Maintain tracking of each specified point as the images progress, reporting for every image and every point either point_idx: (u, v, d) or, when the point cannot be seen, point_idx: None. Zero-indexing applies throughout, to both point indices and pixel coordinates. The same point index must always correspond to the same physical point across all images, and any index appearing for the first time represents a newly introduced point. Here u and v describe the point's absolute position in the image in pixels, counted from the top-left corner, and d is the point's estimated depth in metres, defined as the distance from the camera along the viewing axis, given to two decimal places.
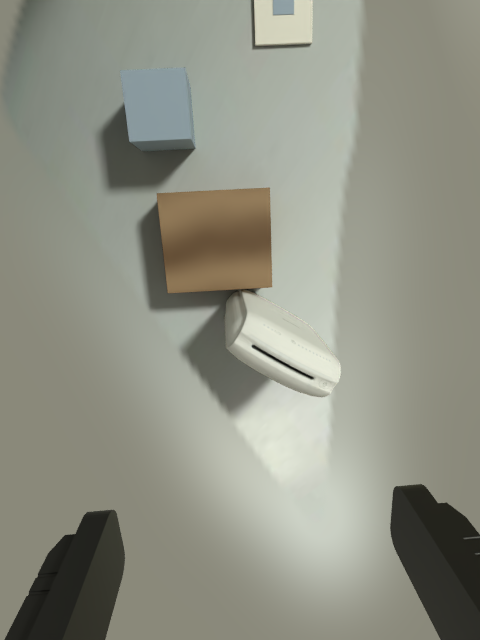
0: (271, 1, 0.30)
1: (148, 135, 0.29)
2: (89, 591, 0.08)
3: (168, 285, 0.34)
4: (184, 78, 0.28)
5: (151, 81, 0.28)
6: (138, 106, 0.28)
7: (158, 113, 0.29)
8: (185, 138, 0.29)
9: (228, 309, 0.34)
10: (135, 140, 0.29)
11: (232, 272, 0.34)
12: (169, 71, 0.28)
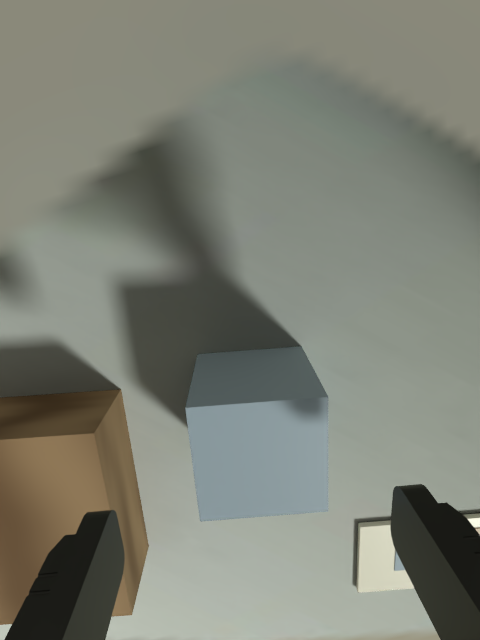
0: None
1: (200, 446, 0.13)
2: (90, 590, 0.08)
3: None
4: (309, 509, 0.14)
5: (305, 455, 0.13)
6: (258, 428, 0.13)
7: (245, 466, 0.13)
8: (200, 510, 0.14)
9: None
10: (188, 419, 0.13)
11: None
12: (322, 485, 0.14)
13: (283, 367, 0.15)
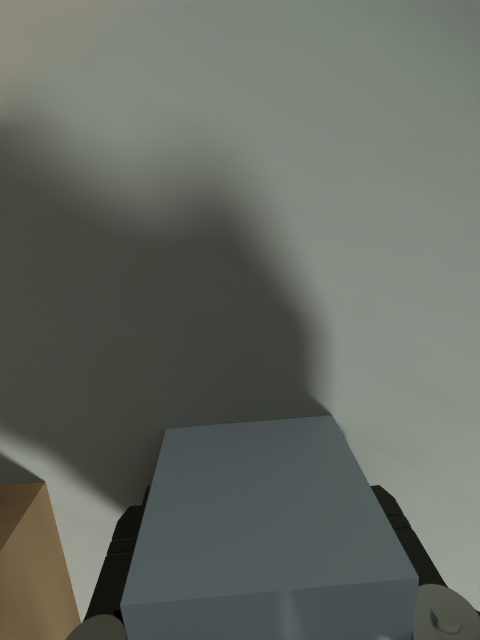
0: None
1: None
2: None
3: None
4: None
5: None
6: (272, 634, 0.06)
7: None
8: None
9: None
10: (129, 624, 0.06)
11: None
12: None
13: (312, 472, 0.09)
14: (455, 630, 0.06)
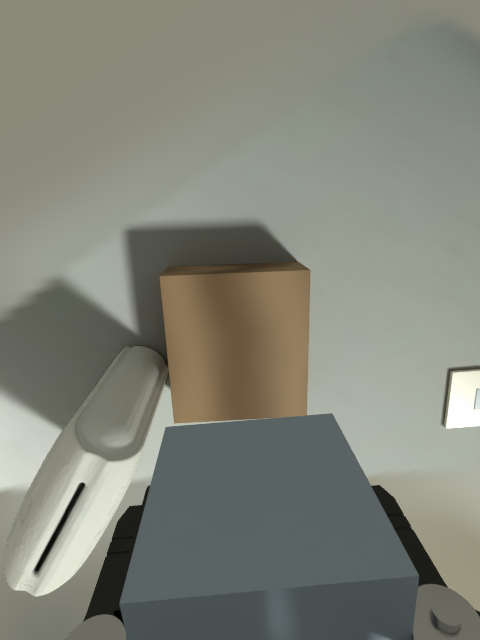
0: None
1: None
2: None
3: (172, 278, 0.21)
4: None
5: None
6: (272, 633, 0.06)
7: None
8: None
9: (138, 372, 0.22)
10: (128, 622, 0.06)
11: (194, 372, 0.23)
12: None
13: (311, 470, 0.09)
14: (455, 630, 0.06)
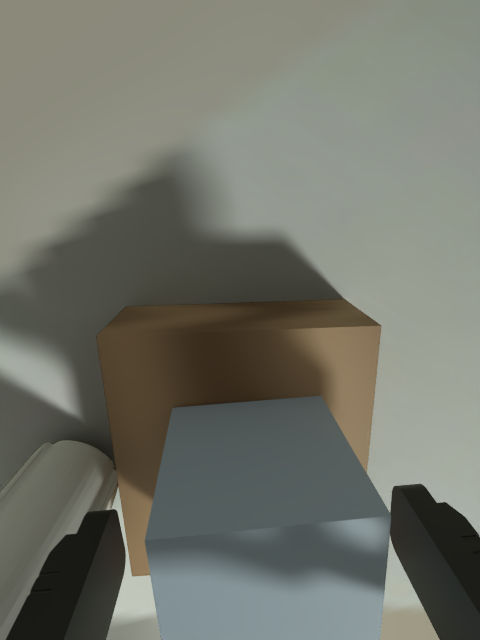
0: None
1: (171, 597, 0.08)
2: (91, 590, 0.08)
3: (121, 339, 0.11)
4: None
5: (347, 602, 0.08)
6: (271, 567, 0.07)
7: (247, 623, 0.08)
8: None
9: (35, 524, 0.12)
10: (151, 558, 0.07)
11: None
12: None
13: (303, 440, 0.10)
14: None
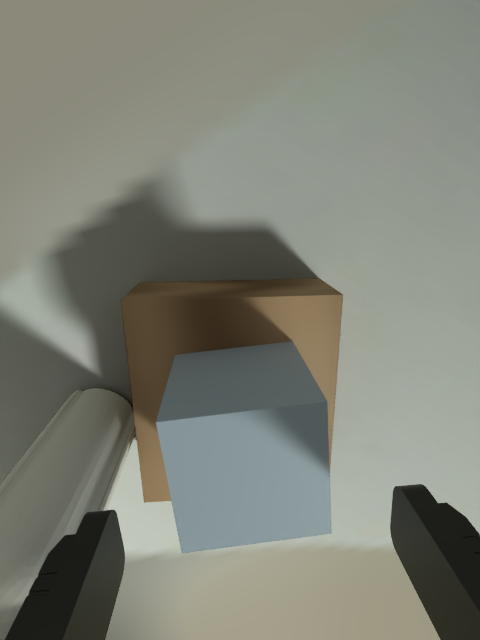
0: None
1: (176, 466, 0.11)
2: (89, 591, 0.08)
3: (140, 303, 0.14)
4: (309, 533, 0.12)
5: (303, 471, 0.11)
6: (245, 442, 0.11)
7: (231, 487, 0.11)
8: (181, 541, 0.12)
9: (84, 436, 0.15)
10: (161, 436, 0.10)
11: None
12: (323, 505, 0.12)
13: (273, 367, 0.13)
14: None
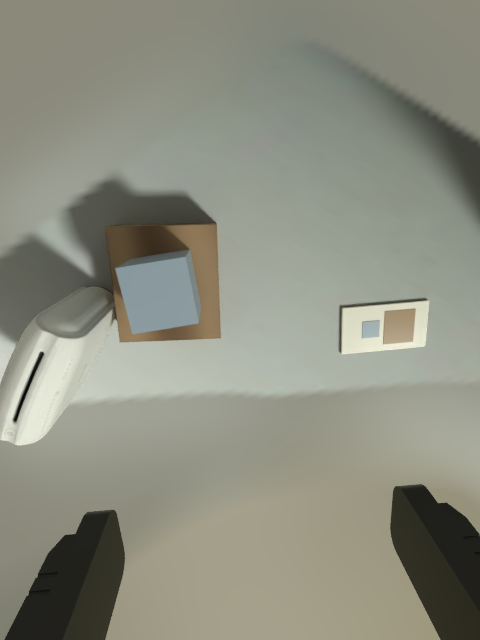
0: (371, 319, 0.37)
1: (125, 289, 0.26)
2: (89, 591, 0.08)
3: (114, 228, 0.29)
4: (188, 323, 0.27)
5: (180, 290, 0.26)
6: (153, 277, 0.25)
7: (150, 299, 0.26)
8: (131, 328, 0.27)
9: (89, 298, 0.30)
10: (118, 275, 0.25)
11: None
12: (192, 308, 0.26)
13: (173, 254, 0.28)
14: None
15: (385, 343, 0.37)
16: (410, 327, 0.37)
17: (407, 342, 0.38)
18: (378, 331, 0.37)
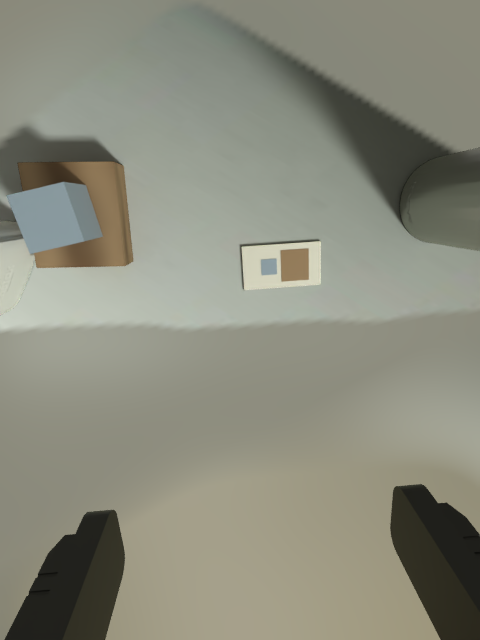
0: (269, 258, 0.41)
1: (18, 214, 0.30)
2: (89, 591, 0.08)
3: (25, 164, 0.34)
4: (75, 241, 0.31)
5: (64, 212, 0.31)
6: (39, 201, 0.30)
7: (40, 221, 0.31)
8: (28, 248, 0.31)
9: (5, 225, 0.35)
10: (9, 201, 0.30)
11: None
12: (76, 227, 0.31)
13: None
14: None
15: (283, 281, 0.42)
16: (305, 266, 0.41)
17: (303, 280, 0.42)
18: (276, 269, 0.41)
